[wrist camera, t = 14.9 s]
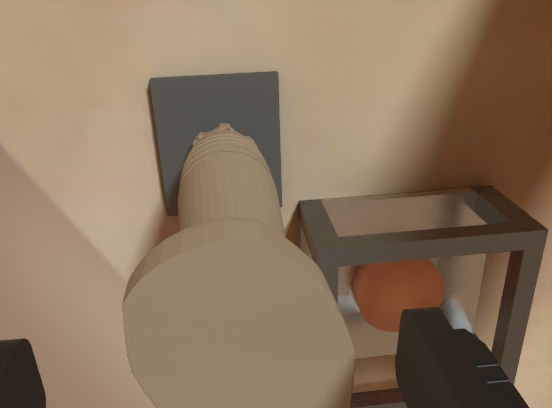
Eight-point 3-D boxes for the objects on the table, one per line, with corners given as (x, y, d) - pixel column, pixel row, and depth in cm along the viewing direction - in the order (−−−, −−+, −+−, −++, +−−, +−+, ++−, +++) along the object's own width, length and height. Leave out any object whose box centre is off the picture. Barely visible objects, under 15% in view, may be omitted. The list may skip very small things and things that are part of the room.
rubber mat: (150, 78, 24) (149, 80, 23) (276, 71, 24) (278, 73, 24) (168, 211, 27) (167, 216, 26) (280, 202, 27) (282, 207, 27)
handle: (208, 223, 27) (212, 481, 13) (147, 115, 24) (74, 300, 10) (292, 186, 26) (384, 410, 13) (240, 72, 24) (288, 204, 10)
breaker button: (353, 249, 28) (360, 262, 27) (439, 242, 29) (449, 254, 28) (351, 321, 31) (357, 336, 29) (430, 313, 31) (440, 327, 30)
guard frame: (298, 201, 27) (317, 249, 23) (491, 185, 28) (548, 229, 24) (301, 357, 32) (316, 425, 27) (466, 340, 33) (509, 402, 28)
